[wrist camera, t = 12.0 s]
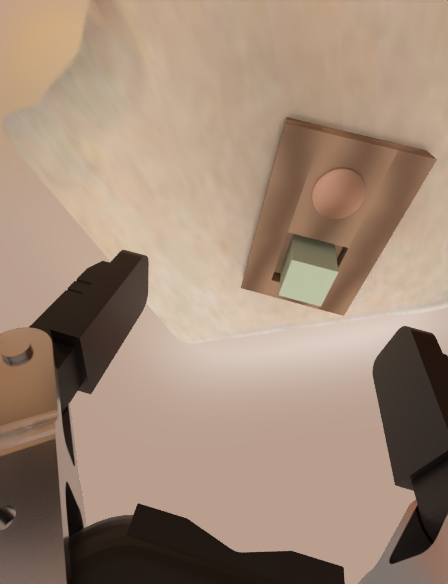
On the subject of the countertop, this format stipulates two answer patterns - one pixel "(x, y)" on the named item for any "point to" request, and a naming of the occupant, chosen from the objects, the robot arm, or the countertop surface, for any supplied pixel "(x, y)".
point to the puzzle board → (345, 232)
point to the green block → (308, 270)
